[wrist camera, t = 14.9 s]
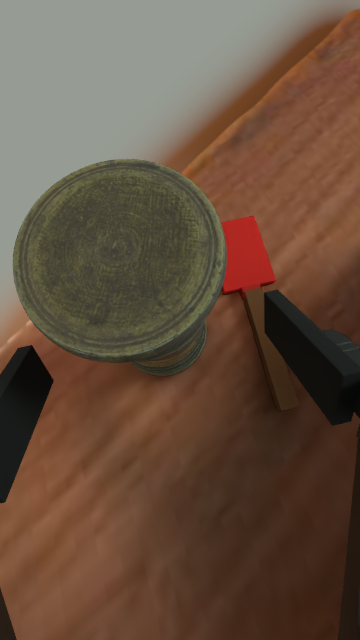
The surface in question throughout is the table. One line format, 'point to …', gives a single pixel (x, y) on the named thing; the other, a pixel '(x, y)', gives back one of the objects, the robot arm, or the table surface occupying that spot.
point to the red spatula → (256, 300)
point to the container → (122, 265)
